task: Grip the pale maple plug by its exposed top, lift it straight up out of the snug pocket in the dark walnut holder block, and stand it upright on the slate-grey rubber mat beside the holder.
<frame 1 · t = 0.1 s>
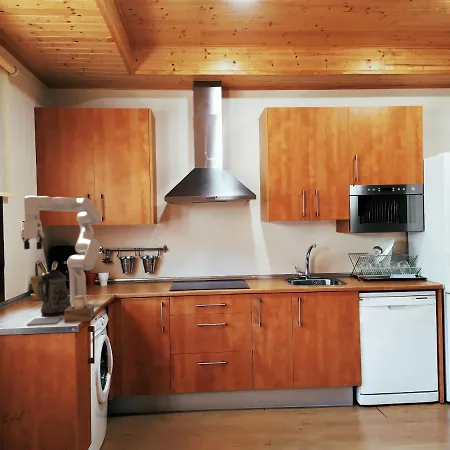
hand: (33, 249, 246), 37 cm above the worktop, tool pointing down, fingers open, 9 cm apart
walnut holder: (79, 319, 235), on the worktop
maple plug: (79, 307, 235), in the walnut holder
slate mat: (45, 321, 231), on the worktop
beer stein: (55, 314, 250), on the worktop
plant pot: (42, 299, 303), on the worktop
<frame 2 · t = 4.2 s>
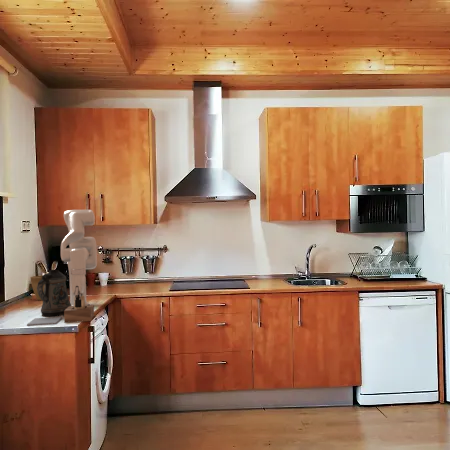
hand: (79, 305, 235), 7 cm above the worktop, tool pointing down, fingers closed on maple plug, 5 cm apart
maple plug: (79, 307, 235), in the walnut holder, touching gripper
everything else where it was.
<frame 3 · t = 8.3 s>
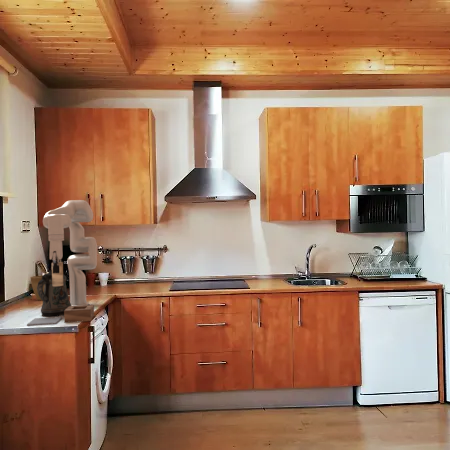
hand: (57, 272, 232), 25 cm above the worktop, tool pointing down, fingers closed on maple plug, 5 cm apart
maple plug: (57, 274, 232), point 24 cm above the worktop, touching gripper
everything else where it was.
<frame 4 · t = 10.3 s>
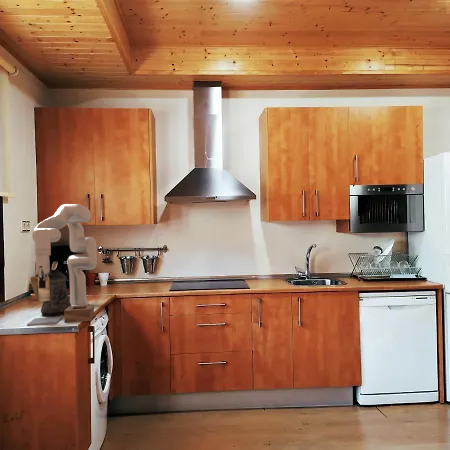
hand: (43, 287, 230), 18 cm above the worktop, tool pointing down, fingers closed on maple plug, 5 cm apart
maple plug: (44, 288, 230), point 17 cm above the worktop, touching gripper
everything else where it was.
when the fingers open (9 cm above the worktop, at t = 12.4 s): maple plug drops 1 cm, resting on slate mat.
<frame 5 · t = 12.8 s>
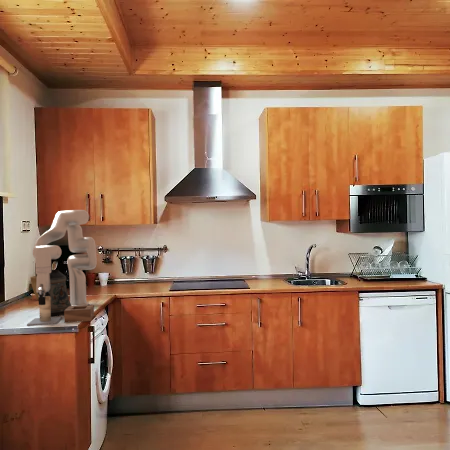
hand: (44, 303, 231), 10 cm above the worktop, tool pointing down, fingers open, 9 cm apart
maple plug: (45, 308, 231), on the slate mat, point 7 cm above the worktop
everything else where it was.
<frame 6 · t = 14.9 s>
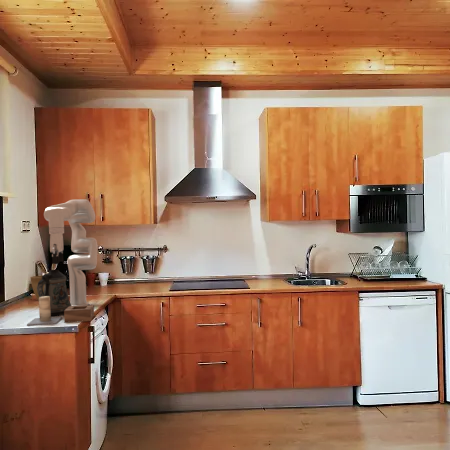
hand: (58, 262, 239), 30 cm above the worktop, tool pointing down, fingers open, 9 cm apart
nothing on the worktop moved.
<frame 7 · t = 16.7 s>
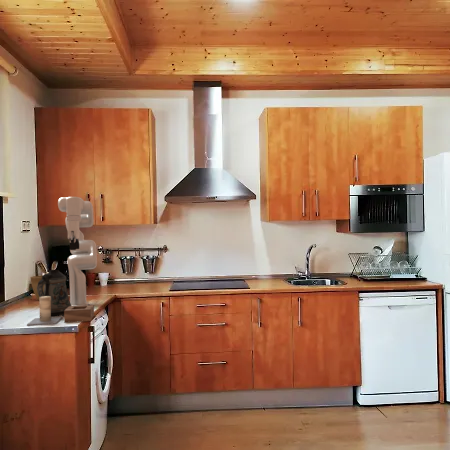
hand: (74, 249, 248), 36 cm above the worktop, tool pointing down, fingers open, 9 cm apart
nothing on the worktop moved.
at the end: maple plug inside the target area on the slate mat (0.1 cm from its centre), point 6.9 cm above the slate mat's base; maple plug tilted 2°; the gripper is holding nothing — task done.
